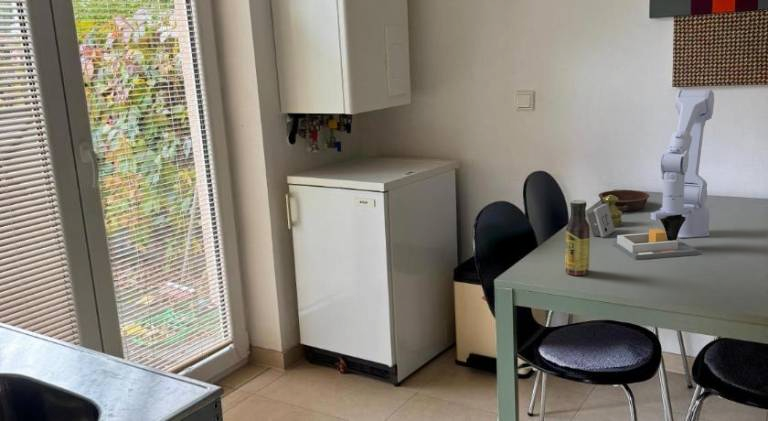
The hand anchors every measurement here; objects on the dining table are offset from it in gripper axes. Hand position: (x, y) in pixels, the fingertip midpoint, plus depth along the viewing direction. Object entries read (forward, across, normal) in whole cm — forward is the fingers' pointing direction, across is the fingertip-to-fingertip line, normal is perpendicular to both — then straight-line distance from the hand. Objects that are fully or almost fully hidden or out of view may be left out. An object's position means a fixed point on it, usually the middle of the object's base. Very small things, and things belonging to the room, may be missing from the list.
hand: (671, 240), depth 208 cm
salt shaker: (+2, -4, -30) cm, 31 cm away
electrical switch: (+2, +6, -23) cm, 24 cm away
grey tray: (+2, +5, -2) cm, 6 cm away
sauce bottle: (+2, +36, +4) cm, 37 cm away
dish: (+3, -23, -47) cm, 52 cm away
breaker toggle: (+1, +4, -1) cm, 4 cm away
